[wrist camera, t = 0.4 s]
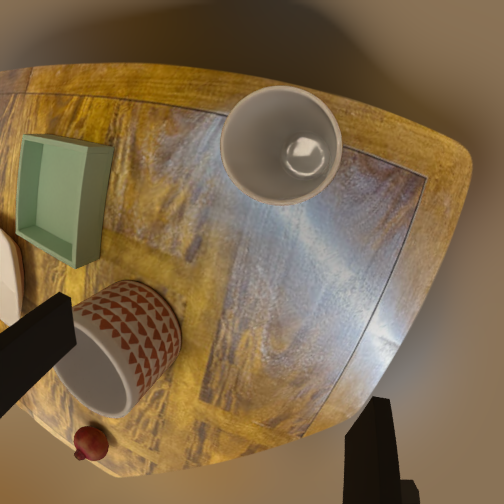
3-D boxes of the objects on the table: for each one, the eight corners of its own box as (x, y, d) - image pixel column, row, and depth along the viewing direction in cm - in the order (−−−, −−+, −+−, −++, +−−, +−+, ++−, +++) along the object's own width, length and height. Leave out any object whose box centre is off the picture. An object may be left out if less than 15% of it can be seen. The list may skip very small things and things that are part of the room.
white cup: (298, 110, 28) (264, 61, 14) (353, 151, 28) (369, 133, 14) (259, 162, 31) (195, 159, 17) (312, 203, 30) (291, 233, 17)
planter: (140, 260, 38) (70, 297, 26) (202, 347, 39) (153, 408, 27) (90, 304, 43) (32, 340, 31) (142, 375, 44) (95, 424, 32)
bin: (47, 133, 38) (22, 134, 33) (114, 147, 35) (87, 146, 30) (37, 227, 43) (15, 233, 38) (99, 258, 40) (75, 269, 35)
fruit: (102, 443, 56) (79, 468, 47) (82, 417, 55) (56, 442, 46) (122, 446, 53) (98, 474, 44) (101, 419, 52) (74, 447, 43)
